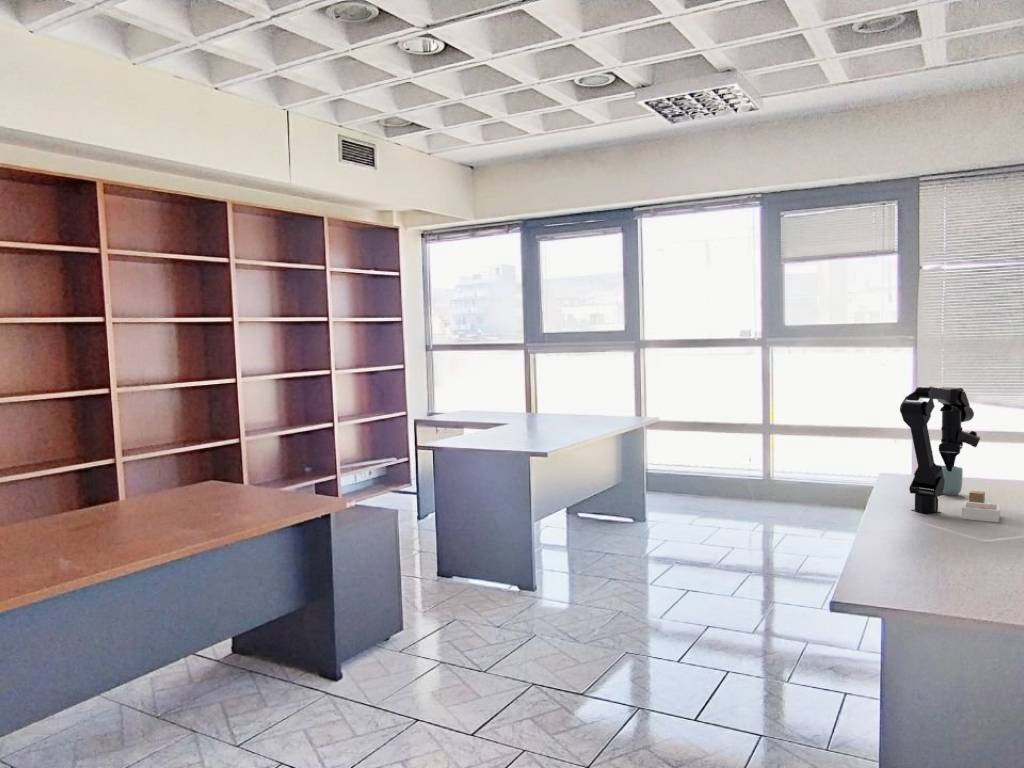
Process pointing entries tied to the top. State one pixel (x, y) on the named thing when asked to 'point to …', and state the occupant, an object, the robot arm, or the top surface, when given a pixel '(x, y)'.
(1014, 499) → the top surface
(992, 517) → the box
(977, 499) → the lid
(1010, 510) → the top surface
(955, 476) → the cup
